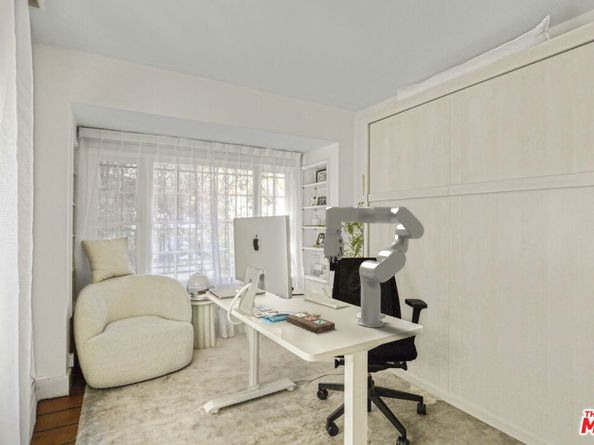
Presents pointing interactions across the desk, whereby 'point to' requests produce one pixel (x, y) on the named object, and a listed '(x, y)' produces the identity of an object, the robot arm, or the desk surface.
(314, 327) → the button board
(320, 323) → the button three dots
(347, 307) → the desk surface
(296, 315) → the button one dot
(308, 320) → the button two dots
